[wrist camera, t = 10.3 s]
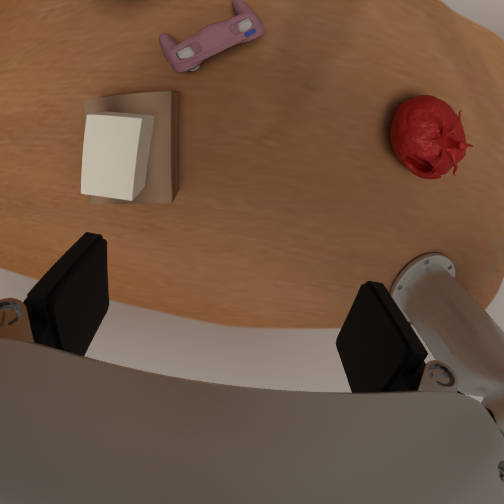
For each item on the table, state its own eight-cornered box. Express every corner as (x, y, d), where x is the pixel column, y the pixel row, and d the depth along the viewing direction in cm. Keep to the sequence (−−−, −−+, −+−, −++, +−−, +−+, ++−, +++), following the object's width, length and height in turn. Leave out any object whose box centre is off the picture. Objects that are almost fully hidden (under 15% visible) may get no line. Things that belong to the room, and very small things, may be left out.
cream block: (154, 115, 25) (141, 118, 21) (144, 186, 28) (132, 201, 24) (106, 111, 24) (86, 114, 20) (99, 180, 27) (80, 193, 23)
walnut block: (179, 92, 29) (171, 90, 24) (179, 188, 34) (172, 202, 29) (102, 98, 28) (83, 99, 23) (106, 190, 33) (90, 204, 29)
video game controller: (175, 67, 28) (179, 86, 24) (155, 36, 25) (154, 48, 20) (255, 27, 27) (277, 39, 23) (239, -6, 23) (259, -2, 19)
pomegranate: (379, 89, 29) (423, 88, 21) (444, 101, 30) (492, 107, 21) (378, 169, 34) (418, 191, 26) (440, 172, 34) (485, 194, 26)
